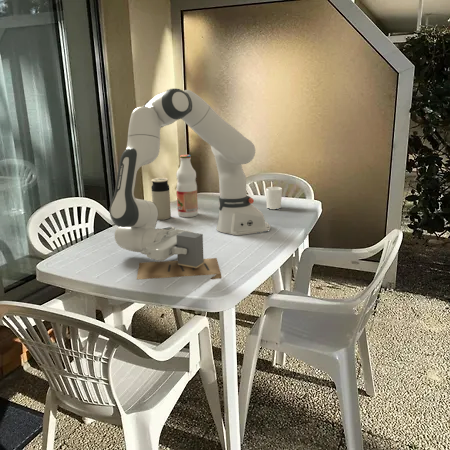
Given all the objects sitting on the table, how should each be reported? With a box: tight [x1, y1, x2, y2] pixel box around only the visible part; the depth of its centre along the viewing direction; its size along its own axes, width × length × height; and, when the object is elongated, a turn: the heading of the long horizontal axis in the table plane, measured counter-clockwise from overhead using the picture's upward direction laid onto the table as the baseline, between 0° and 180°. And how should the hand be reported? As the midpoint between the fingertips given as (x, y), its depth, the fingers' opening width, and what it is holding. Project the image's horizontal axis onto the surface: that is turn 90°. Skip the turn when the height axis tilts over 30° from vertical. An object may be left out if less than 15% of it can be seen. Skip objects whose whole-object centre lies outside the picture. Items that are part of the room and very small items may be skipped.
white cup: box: [265, 186, 283, 209], centre depth 224 cm, size 8×8×10 cm
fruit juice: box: [175, 154, 199, 218], centre depth 213 cm, size 9×9×28 cm
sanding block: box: [176, 231, 205, 268], centre depth 148 cm, size 7×4×10 cm, turn 62°
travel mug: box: [151, 177, 172, 221], centre depth 210 cm, size 8×8×18 cm
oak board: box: [136, 257, 222, 280], centre depth 149 cm, size 26×14×2 cm, turn 97°
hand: (192, 248), depth 147 cm, fingers closed on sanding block, 4 cm apart
